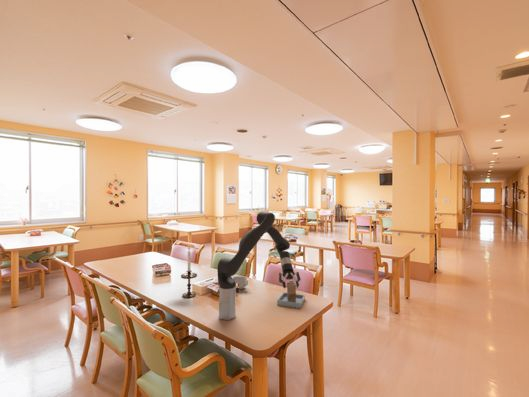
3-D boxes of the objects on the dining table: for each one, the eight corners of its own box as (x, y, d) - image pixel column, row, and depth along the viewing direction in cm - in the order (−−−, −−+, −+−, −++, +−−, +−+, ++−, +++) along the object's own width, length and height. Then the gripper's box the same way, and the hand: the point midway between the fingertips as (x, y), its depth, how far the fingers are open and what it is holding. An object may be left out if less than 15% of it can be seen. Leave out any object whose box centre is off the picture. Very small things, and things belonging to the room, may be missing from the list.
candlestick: (192, 299, 178) (192, 247, 177) (177, 297, 180) (177, 246, 180) (199, 293, 188) (199, 244, 188) (185, 292, 190) (185, 243, 190)
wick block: (295, 301, 171) (295, 281, 171) (289, 302, 170) (289, 282, 170) (293, 299, 176) (293, 279, 175) (287, 299, 175) (287, 280, 175)
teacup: (229, 287, 200) (229, 277, 200) (241, 284, 207) (241, 274, 207) (240, 292, 190) (240, 281, 190) (252, 289, 197) (252, 278, 197)
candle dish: (300, 308, 163) (300, 303, 163) (277, 304, 168) (277, 300, 168) (305, 299, 177) (305, 294, 177) (283, 296, 182) (283, 292, 182)
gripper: (277, 263, 181) (281, 285, 169) (297, 262, 183) (303, 284, 172) (275, 268, 186) (279, 290, 175) (295, 267, 189) (300, 289, 177)
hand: (291, 287), depth 173 cm, fingers open, 8 cm apart
